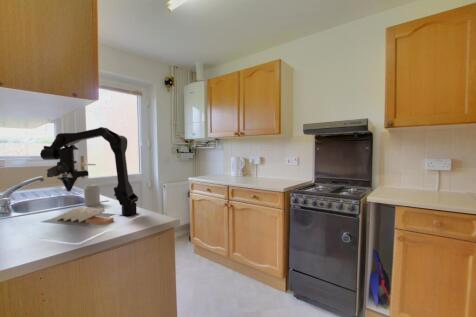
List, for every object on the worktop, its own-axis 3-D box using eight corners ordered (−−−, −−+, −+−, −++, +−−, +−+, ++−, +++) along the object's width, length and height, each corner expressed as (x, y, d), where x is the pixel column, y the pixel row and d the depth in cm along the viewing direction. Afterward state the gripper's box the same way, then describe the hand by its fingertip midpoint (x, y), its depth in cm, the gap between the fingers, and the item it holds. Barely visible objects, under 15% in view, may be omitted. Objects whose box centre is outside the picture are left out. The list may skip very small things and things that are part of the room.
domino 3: (81, 218, 107) (97, 210, 105) (71, 221, 103) (88, 214, 100) (80, 215, 107) (96, 207, 105) (70, 218, 103) (87, 210, 100)
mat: (116, 215, 114) (116, 214, 114) (84, 227, 97) (84, 226, 97) (76, 212, 120) (76, 210, 120) (40, 223, 102) (40, 221, 102)
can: (81, 206, 131) (80, 185, 130) (93, 203, 138) (92, 183, 137) (91, 207, 129) (90, 186, 128) (103, 204, 136) (102, 184, 135)
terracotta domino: (95, 219, 106) (113, 221, 104) (85, 222, 101) (104, 224, 99) (95, 216, 106) (113, 217, 104) (85, 219, 101) (104, 221, 99)
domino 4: (89, 218, 106) (105, 211, 104) (79, 222, 102) (96, 214, 99) (87, 215, 106) (103, 208, 104) (78, 218, 102) (94, 211, 99)
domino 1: (67, 217, 109) (83, 210, 107) (57, 220, 104) (73, 213, 102) (66, 213, 109) (81, 206, 107) (55, 217, 104) (71, 209, 102)
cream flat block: (74, 217, 108) (90, 210, 106) (64, 221, 103) (80, 213, 101) (73, 214, 108) (89, 207, 106) (63, 217, 104) (79, 210, 101)
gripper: (33, 160, 106) (36, 194, 106) (67, 160, 102) (69, 195, 102) (57, 159, 116) (59, 189, 117) (88, 158, 112) (90, 190, 113)
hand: (69, 191), depth 112 cm, fingers closed
